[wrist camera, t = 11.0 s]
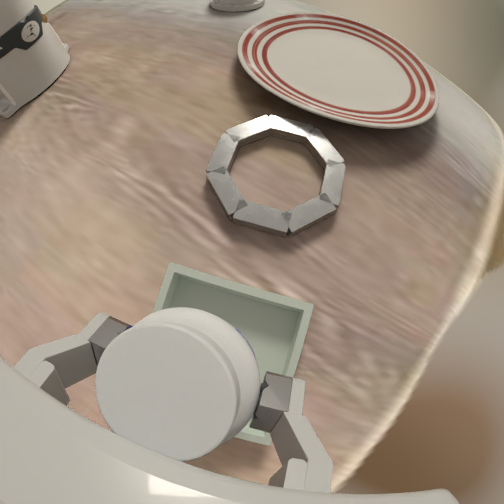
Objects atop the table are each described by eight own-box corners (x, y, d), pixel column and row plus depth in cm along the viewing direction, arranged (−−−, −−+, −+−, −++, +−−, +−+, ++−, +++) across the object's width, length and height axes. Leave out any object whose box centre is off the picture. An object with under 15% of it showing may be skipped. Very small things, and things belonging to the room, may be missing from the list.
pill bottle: (150, 380, 15) (51, 415, 6) (188, 302, 17) (116, 261, 7) (232, 422, 15) (210, 513, 5) (272, 343, 16) (300, 354, 7)
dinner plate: (194, 66, 32) (191, 47, 29) (315, 12, 38) (318, -2, 35) (374, 190, 27) (387, 173, 24) (450, 94, 32) (458, 81, 29)
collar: (193, 212, 26) (190, 206, 24) (235, 114, 29) (235, 107, 28) (327, 249, 25) (331, 245, 24) (346, 143, 28) (349, 136, 27)
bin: (139, 393, 21) (127, 397, 19) (177, 269, 24) (169, 262, 22) (268, 435, 20) (270, 446, 18) (307, 307, 23) (313, 304, 21)
